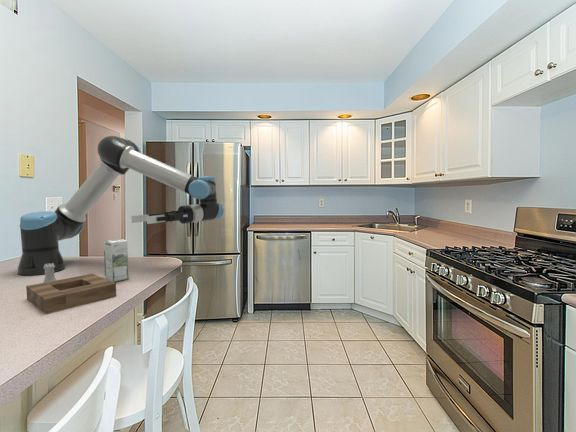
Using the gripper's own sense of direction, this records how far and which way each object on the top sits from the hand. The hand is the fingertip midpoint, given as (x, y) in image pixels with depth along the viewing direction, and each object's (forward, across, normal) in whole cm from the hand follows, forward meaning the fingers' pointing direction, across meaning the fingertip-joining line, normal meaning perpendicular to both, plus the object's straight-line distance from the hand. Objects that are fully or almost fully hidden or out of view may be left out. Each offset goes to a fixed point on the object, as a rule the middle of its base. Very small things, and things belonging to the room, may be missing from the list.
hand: (139, 219), depth 122 cm
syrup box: (+10, +1, -21) cm, 23 cm away
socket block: (+26, -10, -20) cm, 34 cm away
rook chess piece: (+28, +7, -20) cm, 35 cm away
